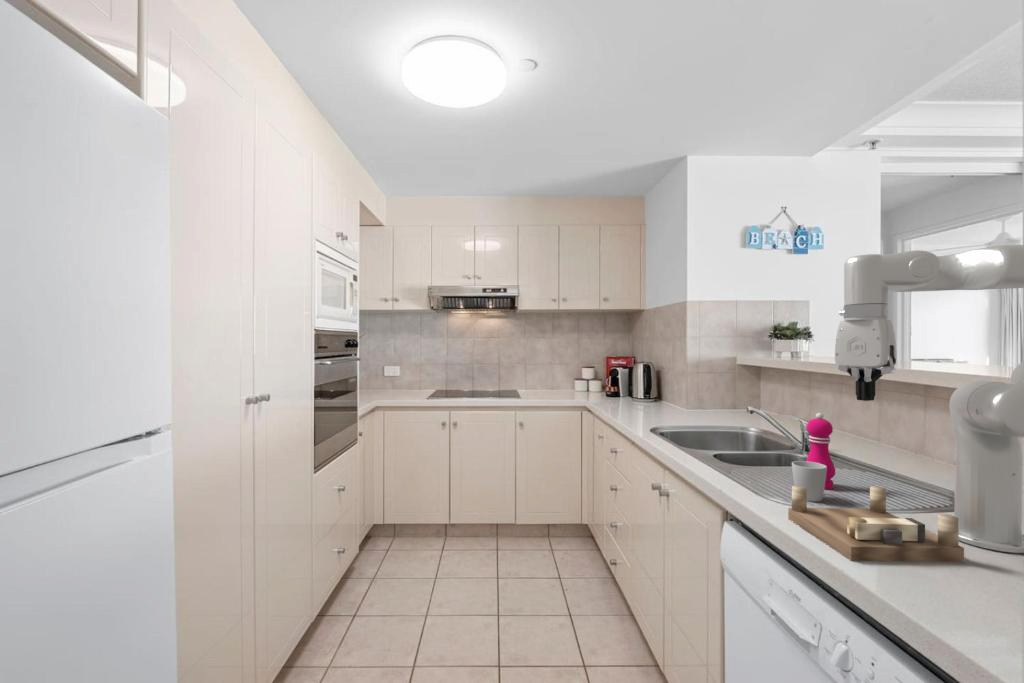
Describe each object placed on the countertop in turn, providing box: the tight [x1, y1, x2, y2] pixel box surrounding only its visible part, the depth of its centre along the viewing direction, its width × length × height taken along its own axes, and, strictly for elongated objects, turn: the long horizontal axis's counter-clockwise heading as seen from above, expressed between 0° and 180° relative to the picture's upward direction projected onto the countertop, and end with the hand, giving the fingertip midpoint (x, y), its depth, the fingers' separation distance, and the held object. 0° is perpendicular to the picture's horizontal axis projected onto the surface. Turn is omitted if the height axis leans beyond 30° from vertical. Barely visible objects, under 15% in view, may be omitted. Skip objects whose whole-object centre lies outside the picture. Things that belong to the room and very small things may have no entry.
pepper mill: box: [805, 412, 836, 490], centre depth 130 cm, size 7×7×20 cm
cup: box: [791, 460, 827, 503], centre depth 121 cm, size 8×10×8 cm
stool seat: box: [787, 485, 965, 563], centre depth 95 cm, size 20×20×8 cm
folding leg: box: [847, 517, 926, 542], centre depth 89 cm, size 12×3×3 cm, turn 86°
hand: (865, 399), depth 101 cm, fingers closed
